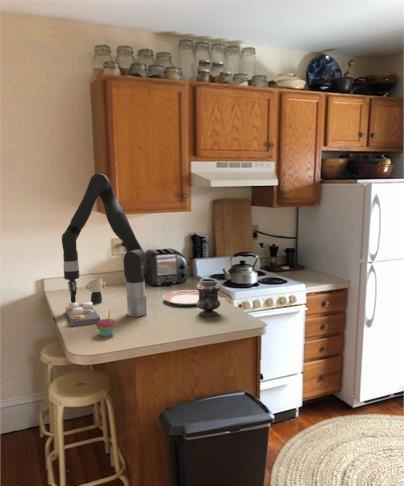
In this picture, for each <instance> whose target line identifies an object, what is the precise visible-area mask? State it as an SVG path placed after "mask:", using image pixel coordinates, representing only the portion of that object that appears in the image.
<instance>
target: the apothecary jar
mask: <svg viewBox="0 0 404 486" xmlns="http://www.w3.org/2000/svg"><path fill="white" fill-rule="evenodd" d="M220 289H221V286H220V284H218V282H217V279H215V278H207V277H205V278H201V279H200V280H199V283H198V284H197V285H196V290H197V291H199V300H198V301H197V303H196V305H195V306H197V308H199V309H200V310H202V311H200V312H199V313H198V316H200V317H201V318H215V317H216V316H218V315H219V312H218V311H215V310H217V309H218V308H219V307H220V306H221V301H220V300H219V297H218V296H219V295H218V292H219V290H220Z"/></svg>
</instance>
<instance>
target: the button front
mask: <svg viewBox="0 0 404 486" xmlns="http://www.w3.org/2000/svg"><path fill="white" fill-rule="evenodd" d="M81 314H83V308H82V307H76V308H73V315H81Z"/></svg>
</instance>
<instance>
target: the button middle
mask: <svg viewBox="0 0 404 486" xmlns="http://www.w3.org/2000/svg"><path fill="white" fill-rule="evenodd" d="M82 305H83V309H91V308H93V309H94V307H93V302H91V301H85V302H82Z"/></svg>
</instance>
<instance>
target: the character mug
mask: <svg viewBox="0 0 404 486" xmlns="http://www.w3.org/2000/svg"><path fill="white" fill-rule="evenodd" d="M106 284H107V283H106V282H103V279H102V278H92V279H89V280H88V283H86V284H85V290H87V291H88V290H89V292H91V296H90V302H92V303H94V304H96V303H97V304H98V303H101V302H102V301H103V297H102V291H103V289H105V288H107V287H106ZM88 286H89V287H88Z"/></svg>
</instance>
